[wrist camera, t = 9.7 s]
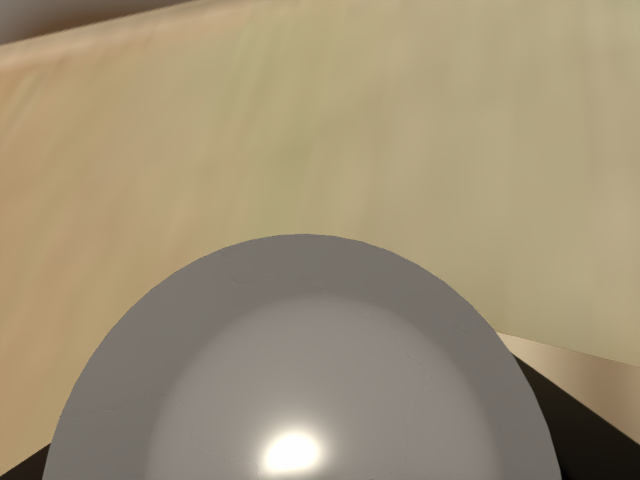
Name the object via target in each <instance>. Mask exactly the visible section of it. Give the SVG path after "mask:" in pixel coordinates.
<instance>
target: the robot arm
mask: <svg viewBox="0 0 640 480" xmlns="http://www.w3.org/2000/svg"><path fill="white" fill-rule="evenodd" d="M511 354H512V355H513V357H514V358H515V360H516V361H517V363H518V365H519V367H520V369H521V370H522V372H523V374H524V376H525V378H526V379H527V381H528V383H529V385H530V387H531V388H532V390H533V392H534V394H535V397H536V399H537V402H538V404H539V407H540V409H541V411H542V414H543V416H544V419H545V421H546V424H547V426H548V428H549V432H550V435H551V439H552V443H553V446H554V450H555V453H556V457H557V461H558V464H559V468H560V473H561V480H640V444H639V443H637V442H636V441H634V440H633V439H632V438H630V437H629V436H627V435H626V434H625V433H623V432H622V431H620V430H619V429H618V428H616V427H615V426H613V425H612V424H611V423H609V422H608V421H606V420H605V419H604V418H602V417H601V416H599V415H598V414H597V413H595V412H594V411H592V410H591V409H590V408H588V407H587V406H585V405H584V404H583V403H581V402H580V401H578V400H577V399H576V398H574V397H573V396H571V395H570V394H569V393H567V392H566V391H564V390H563V389H562V388H560V387H559V386H557V385H556V384H555V383H553V382H552V381H550V380H549V379H548V378H546V377H545V376H543V375H542V374H541V373H539V372H538V371H536V370H535V369H534V368H532V367H531V366H530V365H528V364H527V363H525V362H524V361H523V360H521V359H520V358H518V357H517V356H516V355H514V354H513V353H511ZM50 445H51V443H50V444H48V445H47V446H45V447H44V448H42V449H41V450H39V451H38V452H36V453H35V454H33V455H32V456H30V457H29V458H27V459H26V460H24V461H23V462H21V463H20V464H18V465H17V466H15V467H14V468H12V469H11V470H9V471H8V472H6V473H5V474H3V475H2V476H0V480H42V478H43V473H44V469H45V465H46V461H47V456H48V452H49V448H50Z"/></svg>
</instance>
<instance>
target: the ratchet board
mask: <svg viewBox="0 0 640 480" xmlns="http://www.w3.org/2000/svg"><path fill="white" fill-rule="evenodd" d="M496 333H497V335H498V336H499V337H500V339H501V340H502V341H503V343H504V344H505V346H506V347H507V348H508V350H509V351H510V352H511V353H513V354H514V355H516V356H517V357H518V358H520V359H521V360H523V361H524V362H525V363H527V364H528V365H530V366H531V367H532V368H534V369H535V370H536V371H538V372H539V373H541V374H542V375H543V376H545V377H546V378H548V379H549V380H550V381H552V382H553V383H555V384H556V385H557V386H559V387H560V388H562V389H563V390H564V391H566V392H567V393H569V394H570V395H571V396H573V397H574V398H576V399H577V400H578V401H580V402H581V403H583V404H584V405H585V406H587V407H588V408H590V409H591V410H592V411H594V412H595V413H597V414H598V415H599V416H601V417H602V418H604V419H605V420H606V421H608V422H609V423H611V424H612V425H613V426H615V427H616V428H618V429H619V430H620V431H622V432H623V433H625V434H626V435H627V436H629V437H630V438H632V439H633V440H634V441H636V442H637V443H639V444H640V367H636V366H632V365H628V364H624V363H620V362H616V361H612V360H608V359H604V358H600V357H596V356H592V355H588V354H583V353H579V352H575V351H571V350H567V349H563V348H559V347H555V346H551V345H547V344H543V343H539V342H535V341H531V340H526V339H522V338H518V337H514V336H510V335H506V334H502V333H498V332H496Z"/></svg>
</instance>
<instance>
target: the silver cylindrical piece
mask: <svg viewBox="0 0 640 480" xmlns="http://www.w3.org/2000/svg"><path fill="white" fill-rule="evenodd" d="M42 480H561V473H560V468H559V464H558V461H557V457H556V453H555V450H554V446H553V443H552V439H551V435H550V432H549V428H548V426H547V424H546V421H545V419H544V416H543V414H542V411H541V409H540V407H539V404H538V402H537V399H536V397H535V394H534V392H533V390H532V388H531V387H530V385H529V383H528V381H527V379H526V378H525V376H524V374H523V372H522V370H521V369H520V367H519V365H518V363H517V361H516V360H515V358H514V357H513V355H512V354H511V352H510V351H509V350H508V348H507V347H506V346H505V344H504V343H503V341H502V340H501V339H500V337H499V336H498V335H497V333H496V332H495V330H494V329H493V328H492V327H491V326H490V325H489V324H488V323H487V321H486V320H485V319H484V318H483V317H482V316H481V315H480V314H479V313H478V312H477V311H476V310H475V309H474V307H473V306H472V305H471V304H470V303H469V302H467V301H466V300H465V299H464V298H463V297H462V296H460V295H459V294H458V293H457V292H456V291H454V290H453V289H452V288H451V287H450V286H448V285H447V284H446V283H445V282H444V281H442V280H441V279H439V278H437V277H436V276H434V275H433V274H431V273H430V272H428V271H427V270H425V269H424V268H422V267H421V266H419V265H417V264H415V263H413V262H411V261H409V260H407V259H405V258H403V257H401V256H399V255H397V254H395V253H393V252H391V251H388V250H385V249H382V248H379V247H376V246H373V245H370V244H367V243H364V242H361V241H356V240H351V239H346V238H341V237H336V236H326V235H314V234H294V235H277V236H271V237H265V238H259V239H253V240H249V241H246V242H242V243H239V244H236V245H232V246H229V247H225V248H223V249H221V250H218V251H216V252H214V253H211V254H209V255H207V256H204V257H202V258H199V259H198V260H196V261H194V262H192V263H191V264H189V265H187V266H185V267H184V268H182V269H180V270H178V271H177V272H175V273H173V274H172V275H171V276H169V277H168V278H167V279H165V280H164V281H162V282H161V283H160V284H158V285H157V286H155V287H154V288H153V289H151V290H150V291H149V292H148V293H147V294H146V295H145V296H144V297H142V298H141V299H140V300H139V301H138V302H137V303H136V304H135V305H134V306H133V307H131V308H130V309H129V310H128V311H127V313H126V314H125V315H124V316H123V317H122V318H121V319H120V320H119V321H118V323H117V324H116V325H115V326H114V327H113V328H112V329H111V330H110V332H109V333H108V334H107V336H106V337H105V338H104V340H103V341H102V342H101V344H100V345H99V347H98V348H97V349H96V351H95V352H94V353H93V355H92V356H91V358H90V359H89V361H88V363H87V365H86V366H85V368H84V370H83V371H82V373H81V375H80V377H79V378H78V380H77V382H76V383H75V385H74V387H73V389H72V392H71V394H70V396H69V398H68V400H67V403H66V405H65V407H64V409H63V411H62V414H61V416H60V419H59V422H58V425H57V428H56V430H55V433H54V436H53V439H52V442H51V445H50V448H49V452H48V456H47V461H46V465H45V469H44V473H43V478H42Z"/></svg>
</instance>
